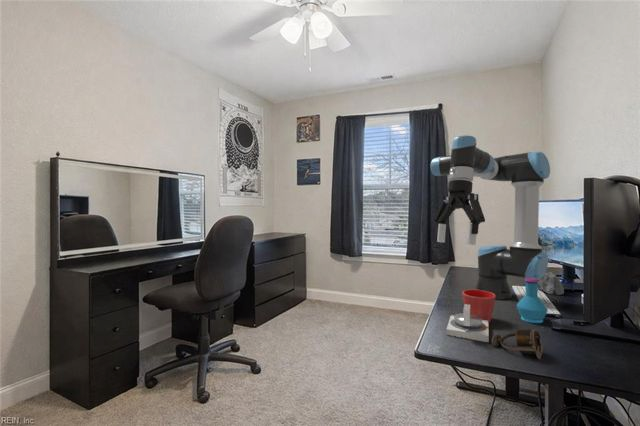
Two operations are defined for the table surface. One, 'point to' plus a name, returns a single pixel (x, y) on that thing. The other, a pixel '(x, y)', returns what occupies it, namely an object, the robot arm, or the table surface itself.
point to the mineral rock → (550, 284)
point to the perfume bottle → (531, 303)
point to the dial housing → (468, 331)
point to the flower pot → (480, 303)
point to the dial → (467, 318)
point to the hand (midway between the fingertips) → (455, 243)
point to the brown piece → (522, 342)
